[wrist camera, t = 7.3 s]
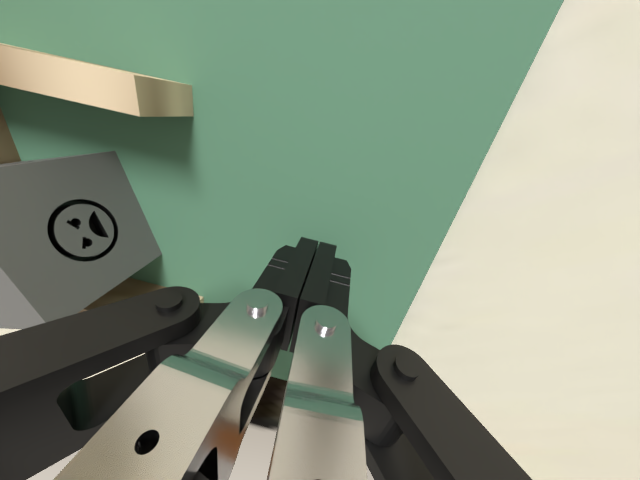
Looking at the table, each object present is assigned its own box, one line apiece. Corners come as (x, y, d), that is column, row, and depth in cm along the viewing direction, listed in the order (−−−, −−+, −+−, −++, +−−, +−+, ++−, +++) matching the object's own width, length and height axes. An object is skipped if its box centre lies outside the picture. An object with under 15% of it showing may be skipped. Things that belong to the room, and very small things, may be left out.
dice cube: (115, 150, 10) (-74, 177, 6) (162, 254, 12) (51, 330, 8) (24, 160, 11) (-201, 191, 7) (82, 255, 13) (-56, 325, 9)
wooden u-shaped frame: (192, 85, 9) (133, 74, 6) (204, 309, 14) (174, 346, 12) (-53, 31, 9) (-188, 3, 7) (49, 269, 14) (-8, 298, 12)
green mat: (572, -31, 6) (582, -38, 6) (362, 396, 16) (362, 401, 15) (-181, -173, 7) (-203, -185, 7) (50, 312, 17) (45, 315, 16)
